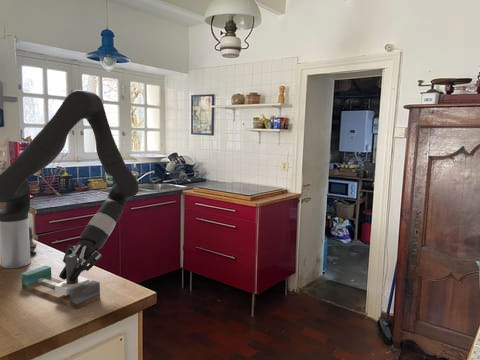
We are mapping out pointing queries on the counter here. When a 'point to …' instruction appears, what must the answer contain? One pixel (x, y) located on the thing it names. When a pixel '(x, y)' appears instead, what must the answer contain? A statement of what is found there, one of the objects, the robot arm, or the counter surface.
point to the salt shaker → (31, 243)
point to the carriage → (70, 265)
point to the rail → (45, 286)
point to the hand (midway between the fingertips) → (66, 279)
